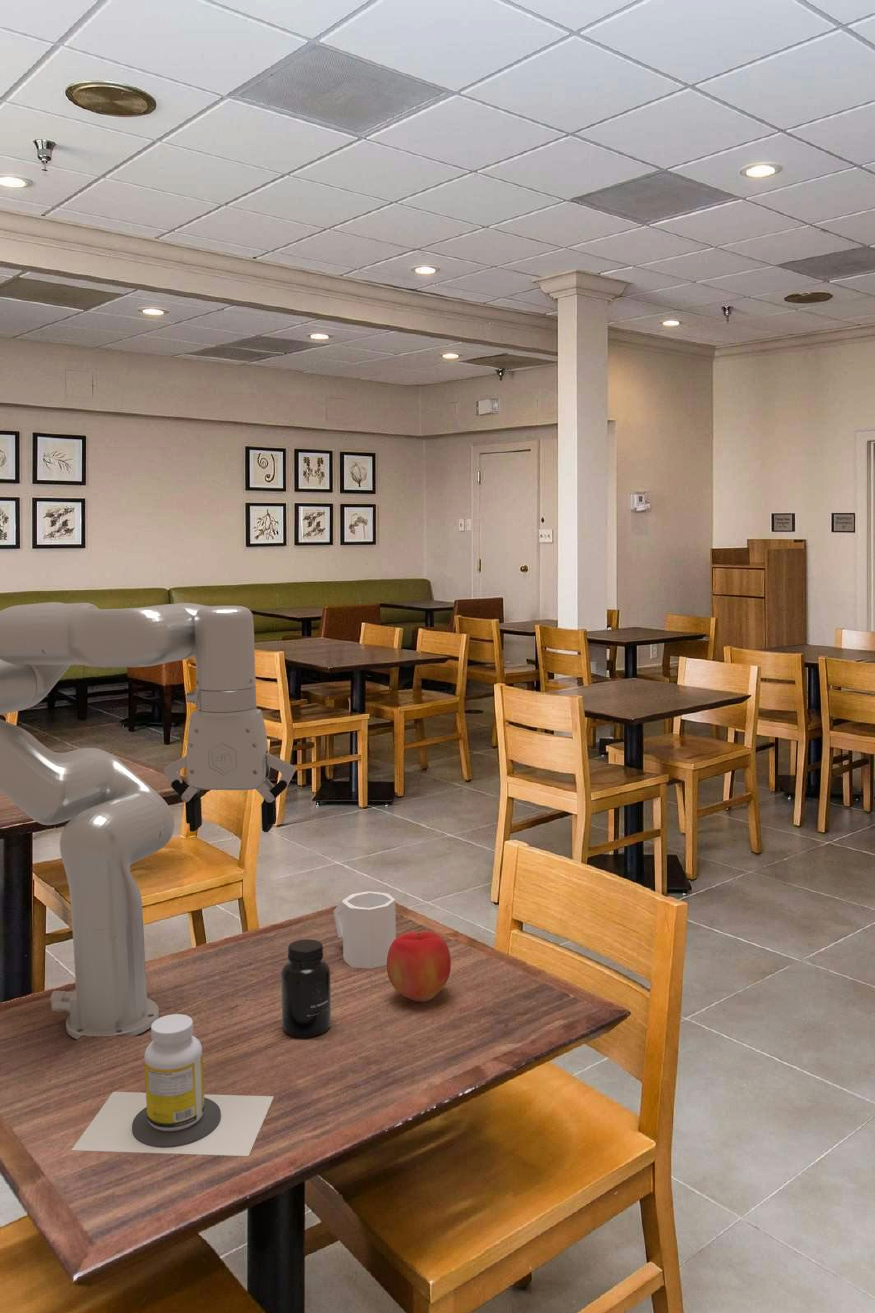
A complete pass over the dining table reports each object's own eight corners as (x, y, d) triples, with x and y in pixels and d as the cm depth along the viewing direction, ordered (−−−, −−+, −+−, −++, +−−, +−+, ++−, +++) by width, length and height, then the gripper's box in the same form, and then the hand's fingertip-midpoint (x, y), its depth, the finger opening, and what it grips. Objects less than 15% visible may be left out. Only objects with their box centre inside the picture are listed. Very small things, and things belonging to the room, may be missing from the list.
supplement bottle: (322, 1041, 140) (320, 956, 138) (275, 1036, 141) (272, 953, 140) (337, 1017, 146) (335, 937, 145) (292, 1014, 148) (289, 934, 146)
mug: (406, 956, 167) (405, 898, 166) (368, 973, 161) (367, 913, 160) (355, 938, 175) (353, 883, 174) (317, 954, 169) (315, 896, 168)
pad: (118, 1146, 114) (118, 1142, 114) (150, 1097, 124) (149, 1094, 124) (206, 1148, 113) (206, 1145, 113) (231, 1099, 123) (231, 1096, 123)
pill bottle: (182, 1096, 123) (178, 1004, 122) (216, 1115, 119) (212, 1020, 118) (135, 1120, 118) (131, 1025, 117) (169, 1141, 114) (165, 1042, 113)
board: (71, 1160, 114) (71, 1150, 113) (113, 1100, 125) (113, 1091, 125) (248, 1166, 112) (248, 1155, 112) (274, 1105, 124) (273, 1096, 124)
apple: (461, 1005, 150) (461, 939, 149) (400, 1017, 146) (399, 950, 145) (437, 979, 159) (436, 917, 158) (379, 990, 155) (378, 926, 154)
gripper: (151, 705, 130) (157, 836, 132) (286, 705, 129) (290, 838, 131) (171, 696, 137) (176, 820, 139) (298, 696, 136) (302, 821, 138)
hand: (231, 829), depth 135 cm, fingers open, 9 cm apart
